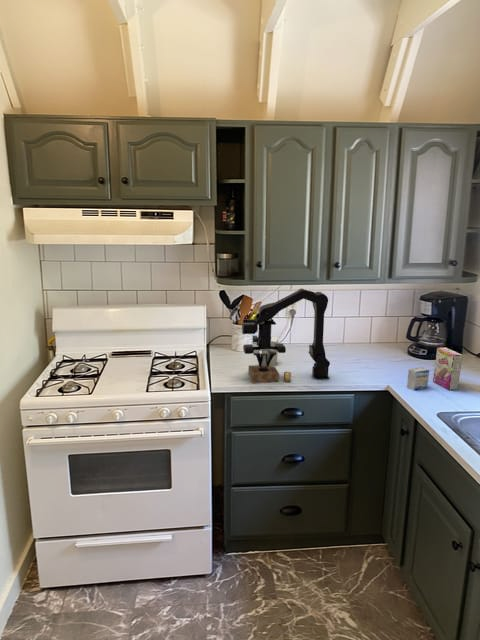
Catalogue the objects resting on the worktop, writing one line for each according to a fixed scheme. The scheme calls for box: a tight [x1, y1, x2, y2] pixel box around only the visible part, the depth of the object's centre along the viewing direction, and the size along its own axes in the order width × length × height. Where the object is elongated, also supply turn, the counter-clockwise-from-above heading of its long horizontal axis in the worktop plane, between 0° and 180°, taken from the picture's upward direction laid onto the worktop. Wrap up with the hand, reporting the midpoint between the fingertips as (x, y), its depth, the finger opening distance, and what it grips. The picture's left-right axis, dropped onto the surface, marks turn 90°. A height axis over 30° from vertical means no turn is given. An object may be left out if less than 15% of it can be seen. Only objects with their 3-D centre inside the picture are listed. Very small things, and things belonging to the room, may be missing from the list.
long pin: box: [260, 352, 268, 371], centre depth 215 cm, size 3×3×10 cm
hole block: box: [247, 364, 280, 384], centre depth 216 cm, size 12×12×4 cm
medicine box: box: [406, 366, 430, 391], centre depth 208 cm, size 8×4×9 cm, turn 114°
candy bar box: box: [432, 346, 464, 391], centre depth 210 cm, size 11×5×16 cm, turn 17°
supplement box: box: [261, 336, 279, 367], centre depth 235 cm, size 7×7×13 cm
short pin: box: [283, 371, 292, 383], centre depth 213 cm, size 3×3×4 cm
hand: (263, 366), depth 215 cm, fingers closed on long pin, 3 cm apart
